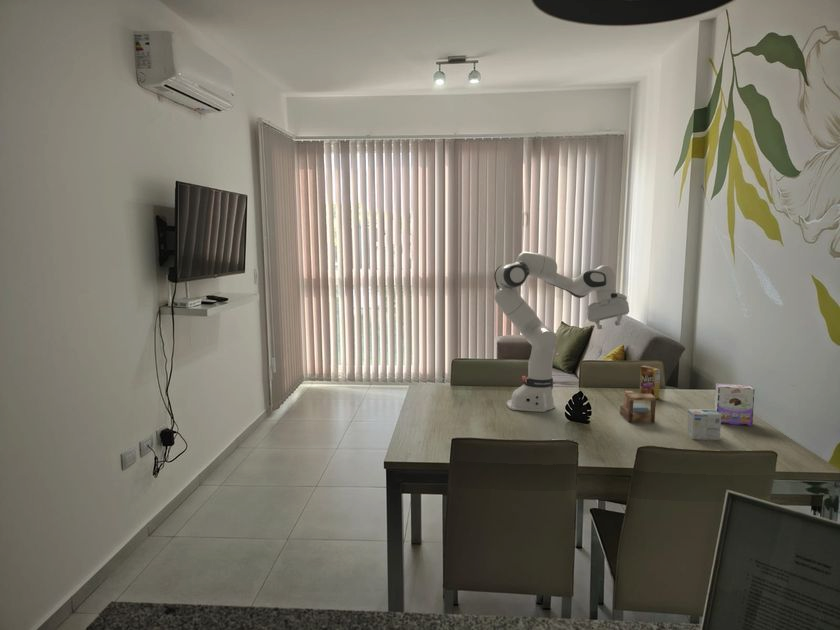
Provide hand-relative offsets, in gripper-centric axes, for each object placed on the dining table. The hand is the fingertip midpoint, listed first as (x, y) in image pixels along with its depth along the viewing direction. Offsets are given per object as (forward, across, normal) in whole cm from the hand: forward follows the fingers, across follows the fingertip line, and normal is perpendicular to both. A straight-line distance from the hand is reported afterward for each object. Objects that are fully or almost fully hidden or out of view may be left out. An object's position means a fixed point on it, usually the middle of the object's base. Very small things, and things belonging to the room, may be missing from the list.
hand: (608, 327), depth 252 cm
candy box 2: (+43, +35, +34) cm, 65 cm away
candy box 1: (+27, -6, +42) cm, 50 cm away
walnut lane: (+42, +6, +8) cm, 43 cm away
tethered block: (+40, +3, +11) cm, 41 cm away
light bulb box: (+51, +34, +8) cm, 62 cm away
